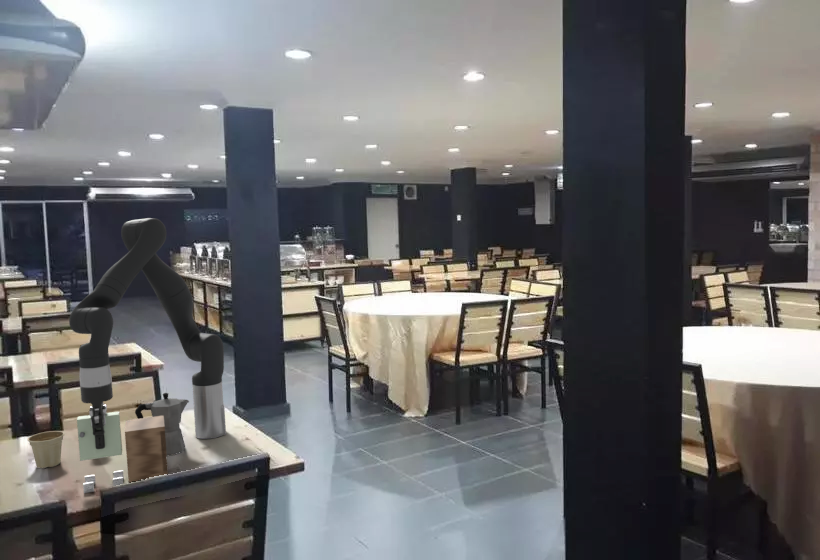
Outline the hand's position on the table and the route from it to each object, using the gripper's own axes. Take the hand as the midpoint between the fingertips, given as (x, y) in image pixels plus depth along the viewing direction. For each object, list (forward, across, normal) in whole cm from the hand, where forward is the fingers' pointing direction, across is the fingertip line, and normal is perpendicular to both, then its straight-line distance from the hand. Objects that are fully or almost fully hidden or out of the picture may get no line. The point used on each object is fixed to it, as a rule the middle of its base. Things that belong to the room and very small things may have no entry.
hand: (100, 446), depth 176 cm
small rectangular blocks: (+11, 0, 0) cm, 11 cm away
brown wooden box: (+11, +5, -11) cm, 16 cm away
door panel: (+3, 0, 0) cm, 3 cm away
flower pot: (+11, +24, +16) cm, 31 cm away
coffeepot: (+11, +20, -16) cm, 28 cm away
